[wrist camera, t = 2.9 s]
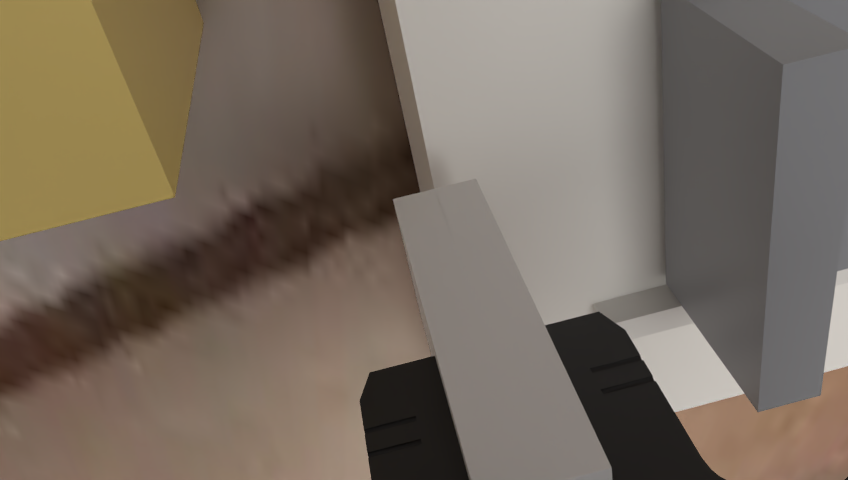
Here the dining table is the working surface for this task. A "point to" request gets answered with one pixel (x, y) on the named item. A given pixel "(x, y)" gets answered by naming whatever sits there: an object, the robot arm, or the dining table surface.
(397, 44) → the socket
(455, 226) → the robot arm
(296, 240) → the dining table surface
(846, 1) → the shutter
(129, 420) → the dining table surface
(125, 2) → the plug
